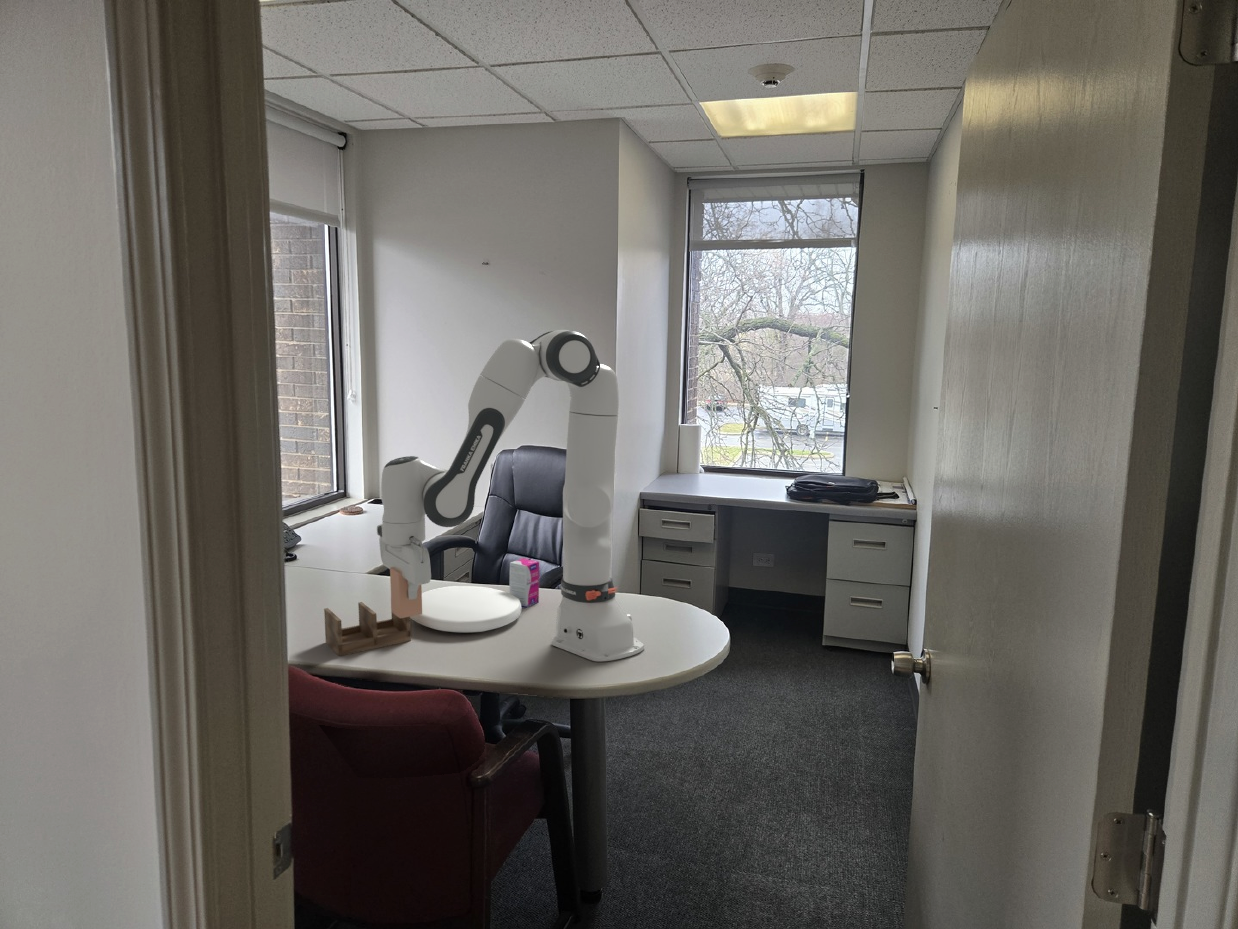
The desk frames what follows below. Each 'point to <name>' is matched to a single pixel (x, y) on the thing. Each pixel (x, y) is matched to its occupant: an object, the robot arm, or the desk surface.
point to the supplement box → (525, 581)
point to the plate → (467, 609)
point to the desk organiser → (365, 631)
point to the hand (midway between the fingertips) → (406, 594)
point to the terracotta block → (403, 596)
